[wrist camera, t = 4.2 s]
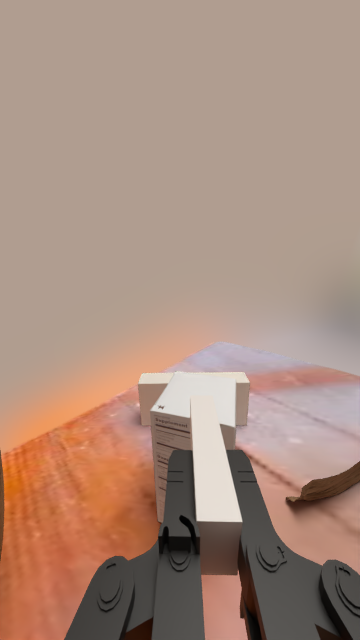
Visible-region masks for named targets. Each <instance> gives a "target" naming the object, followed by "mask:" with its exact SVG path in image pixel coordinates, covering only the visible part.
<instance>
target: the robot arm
mask: <svg viewBox="0 0 360 640" xmlns="http://www.w3.org/2000/svg"><path fill="white" fill-rule="evenodd" d="M190 440H191V450H173V451H172V453H171V455H170V457H169V459H168V470H167V483H166V495H165V507H164V519H163V522H162V524H161V526H160V530H159V534H158V540H157V542H156V544H155V545H154V546H153V547H152V548H151V549H150V550H149V551H147V552H146V553H144V554H142V555H140V556H138V557H136V558H134V559H131V560H129V561H128V560H127V559H125V558H124V557H123V556H114V557H112V558H110V559H107V560H106V561H105V562H104V563H103V564H102V565H101V566H100V567H99V568H98V570H97V571H96V573H95V575H94V576H93V578H92V580H91V582H90V584H89V586H88V588H87V591H86V593H85V595H84V597H83V599H82V602H81V604H80V606H79V608H78V610H77V613H76V615H75V617H74V619H73V621H72V624H71V626H70V628H69V630H68V632H67V635H66V637H65V639H64V640H205V633H204V616H203V599H202V582H201V574H202V575H237V573H238V570H239V575H240V581H241V586H242V592H241V601H240V618H244V619H245V625H246V630H247V636H248V640H360V575H359V574H358V573H357V572H356V571H354V570H353V569H352V568H351V567H349V566H348V565H347V564H345V563H342V562H340V561H338V560H327V561H326V562H325V563H324V564H323V566H322V565H319V564H317V563H315V562H313V561H310V560H308V559H306V558H304V557H301V556H300V555H298V554H296V553H294V552H293V551H292V550H290V549H289V548H288V547H287V546H286V545H285V544H284V543H283V542H282V540H281V539H280V538H279V536H278V535H277V533H276V532H275V529H274V527H273V525H272V522H271V519H270V517H269V514H268V511H267V508H266V505H265V502H264V500H263V497H262V494H261V491H260V488H259V485H258V484H257V480H256V477H255V474H254V471H253V468H252V466H251V463H250V460H249V459H248V457H247V456H246V455H245V453H244V452H243V451H242V450H225V446H224V441H223V437H222V433H221V429H220V424H219V420H218V416H217V412H216V408H215V403H214V399H213V396H212V395H190Z"/></svg>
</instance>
